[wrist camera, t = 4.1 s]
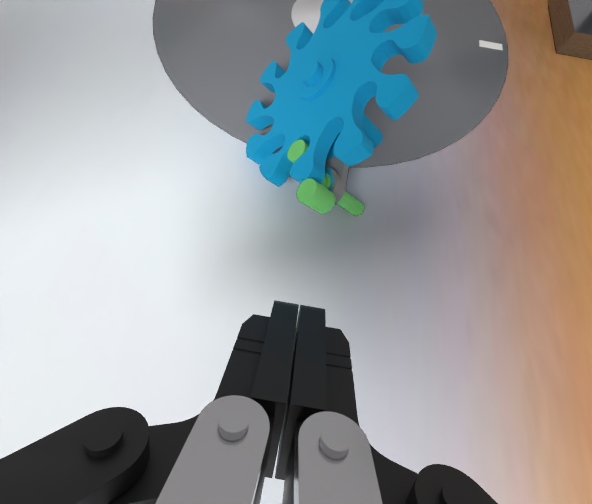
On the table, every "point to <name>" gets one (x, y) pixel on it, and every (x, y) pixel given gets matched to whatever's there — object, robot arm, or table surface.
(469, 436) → the table surface
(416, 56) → the gear
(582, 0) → the indicator stand
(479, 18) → the turntable
